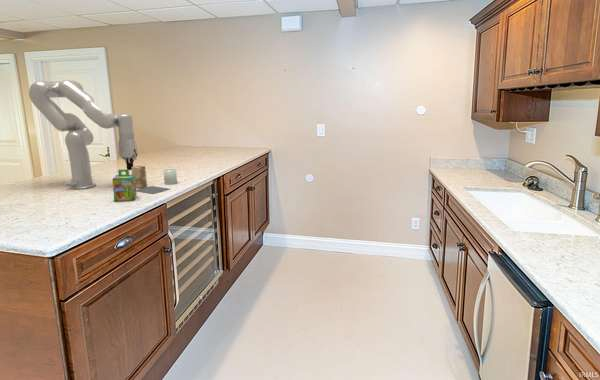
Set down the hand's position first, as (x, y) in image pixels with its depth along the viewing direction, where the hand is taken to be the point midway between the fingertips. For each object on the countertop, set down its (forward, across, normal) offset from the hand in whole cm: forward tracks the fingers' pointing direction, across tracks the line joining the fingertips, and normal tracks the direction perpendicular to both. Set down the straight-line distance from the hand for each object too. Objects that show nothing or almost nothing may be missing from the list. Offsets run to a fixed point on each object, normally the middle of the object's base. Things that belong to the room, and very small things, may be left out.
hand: (130, 169), depth 210 cm
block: (+10, +7, 0) cm, 12 cm away
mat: (+10, +17, -1) cm, 20 cm away
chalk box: (+10, +20, -20) cm, 30 cm away
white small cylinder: (+10, +14, +16) cm, 23 cm away
